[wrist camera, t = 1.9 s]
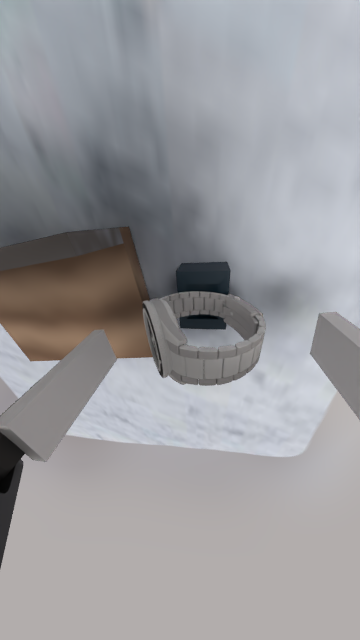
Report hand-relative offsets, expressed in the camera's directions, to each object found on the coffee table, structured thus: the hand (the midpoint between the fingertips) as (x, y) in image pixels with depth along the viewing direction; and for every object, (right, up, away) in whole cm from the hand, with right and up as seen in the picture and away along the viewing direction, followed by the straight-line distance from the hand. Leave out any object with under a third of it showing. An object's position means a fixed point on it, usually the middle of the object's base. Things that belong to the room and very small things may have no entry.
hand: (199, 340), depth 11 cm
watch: (+1, +4, +7) cm, 8 cm away
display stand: (-14, +3, +10) cm, 18 cm away
